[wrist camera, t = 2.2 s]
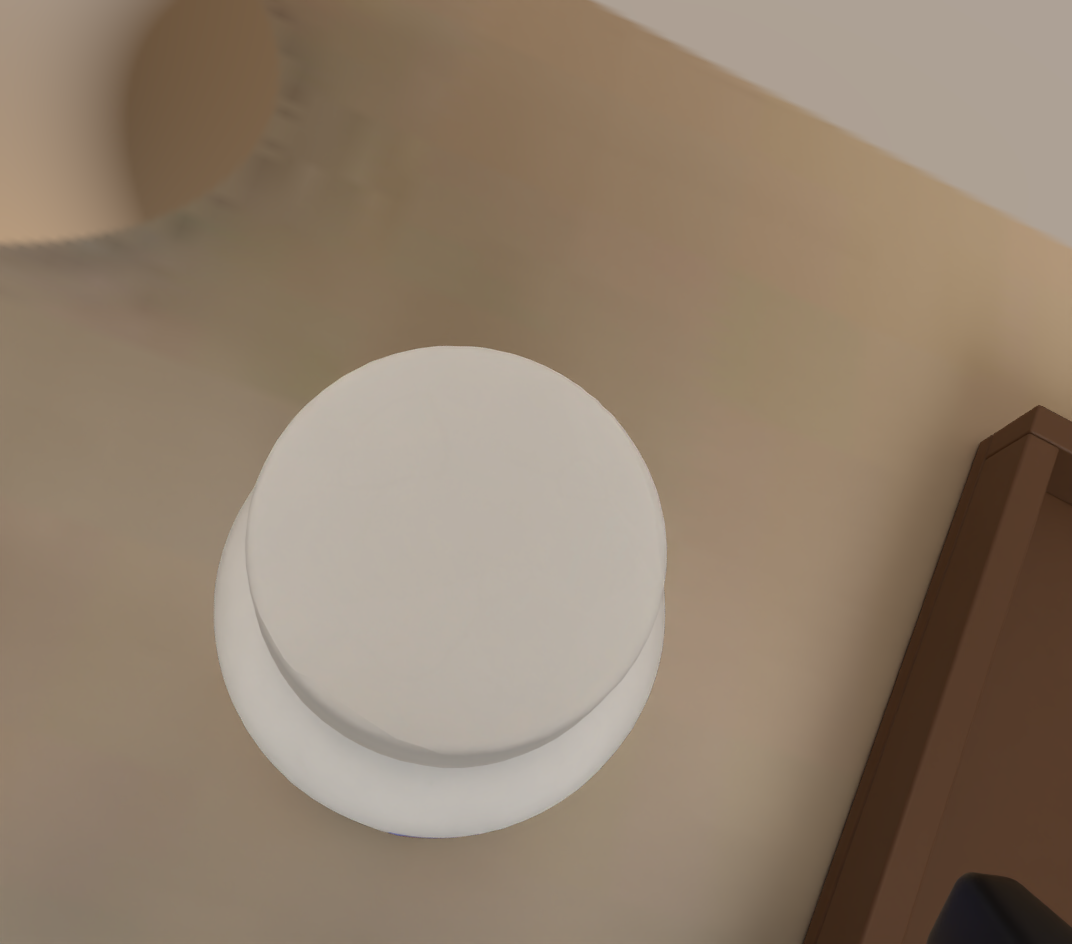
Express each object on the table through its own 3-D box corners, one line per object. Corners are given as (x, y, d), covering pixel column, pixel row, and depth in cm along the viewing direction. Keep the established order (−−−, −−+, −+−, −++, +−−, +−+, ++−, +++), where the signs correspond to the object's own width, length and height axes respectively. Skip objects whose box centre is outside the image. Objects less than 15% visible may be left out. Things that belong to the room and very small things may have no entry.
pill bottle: (603, 597, 19) (806, 386, 10) (512, 884, 17) (667, 929, 8) (339, 499, 19) (313, 196, 10) (215, 775, 17) (48, 705, 8)
